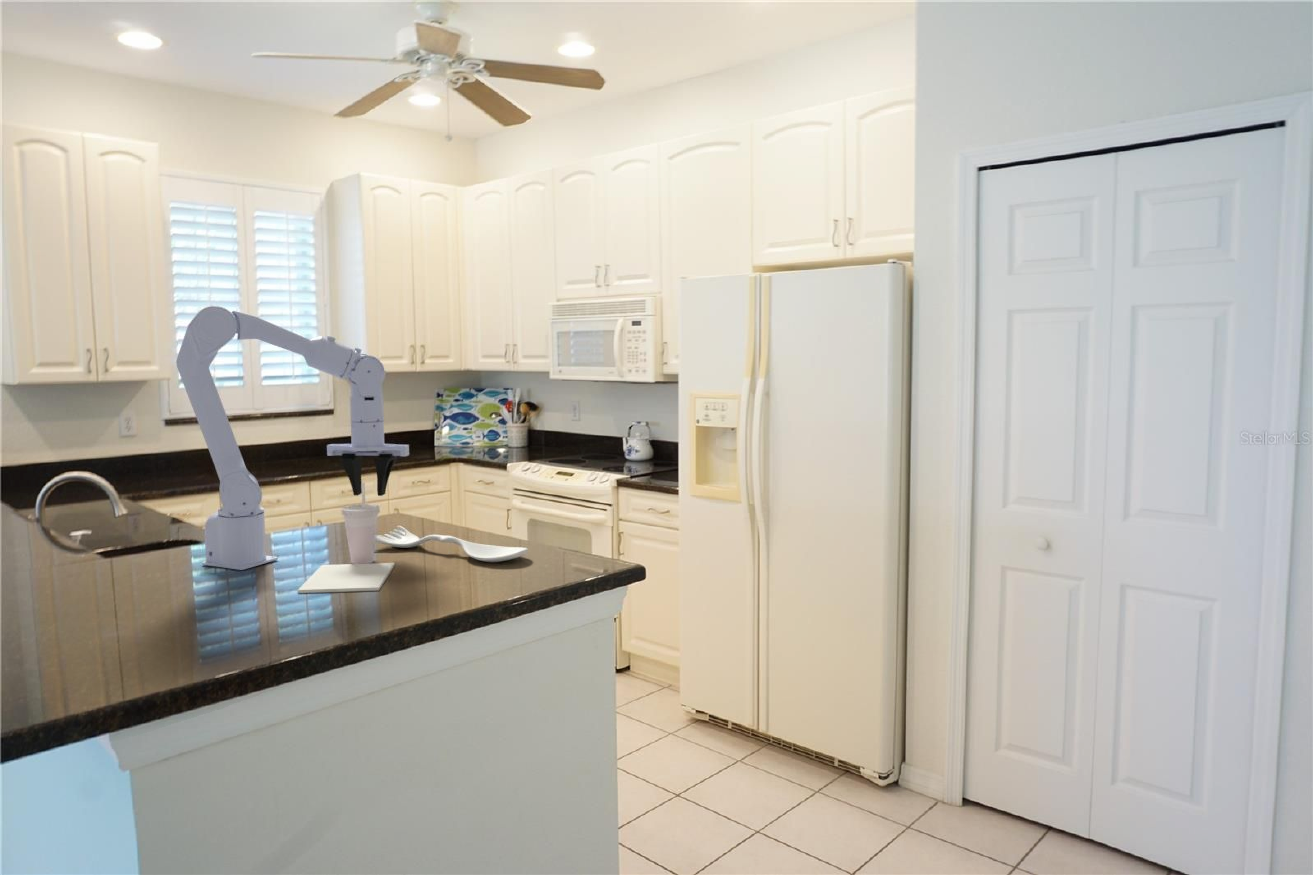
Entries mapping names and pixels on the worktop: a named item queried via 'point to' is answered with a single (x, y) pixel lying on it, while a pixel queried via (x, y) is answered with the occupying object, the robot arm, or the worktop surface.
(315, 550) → the worktop surface
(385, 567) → the mat
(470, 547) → the white plastic utensil
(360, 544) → the smoothie
